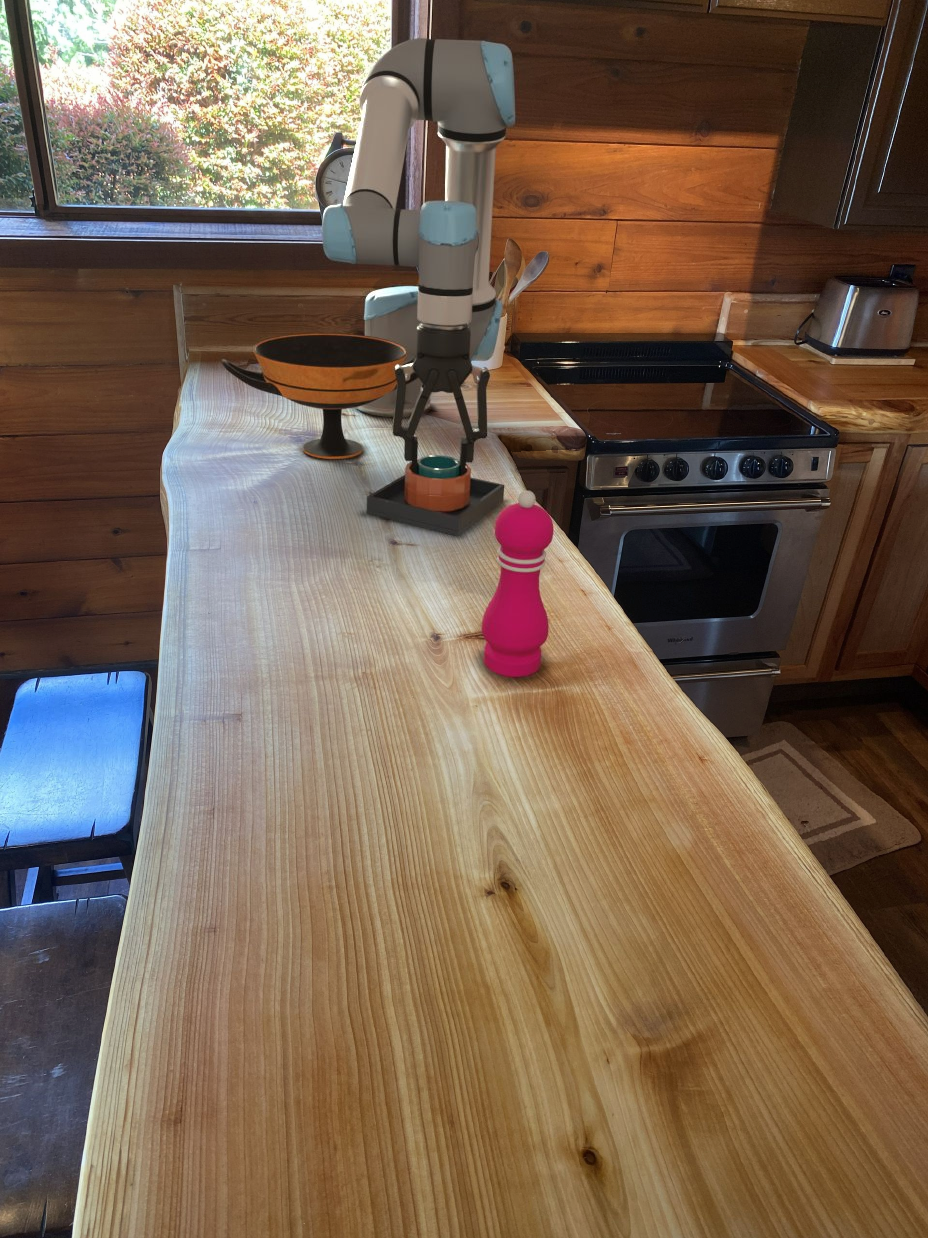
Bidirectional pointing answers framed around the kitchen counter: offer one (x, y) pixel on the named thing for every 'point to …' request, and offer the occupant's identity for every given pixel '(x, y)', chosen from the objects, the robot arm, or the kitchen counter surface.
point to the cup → (326, 378)
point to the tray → (396, 508)
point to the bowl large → (437, 491)
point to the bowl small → (438, 467)
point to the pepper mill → (518, 590)
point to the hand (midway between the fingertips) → (437, 481)
